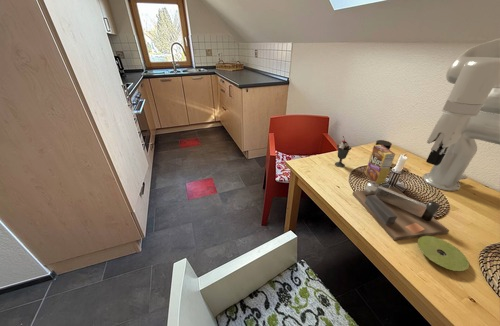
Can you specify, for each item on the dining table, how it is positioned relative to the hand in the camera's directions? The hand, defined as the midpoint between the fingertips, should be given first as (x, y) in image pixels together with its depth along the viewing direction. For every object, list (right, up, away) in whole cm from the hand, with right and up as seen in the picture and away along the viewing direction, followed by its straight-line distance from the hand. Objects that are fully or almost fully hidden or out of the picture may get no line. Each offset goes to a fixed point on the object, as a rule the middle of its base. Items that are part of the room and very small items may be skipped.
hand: (432, 163), depth 67 cm
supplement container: (+7, +1, +40) cm, 41 cm away
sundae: (-15, -1, +37) cm, 39 cm away
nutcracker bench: (-8, -18, +7) cm, 21 cm away
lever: (-7, -15, +7) cm, 18 cm away
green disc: (-6, -27, -8) cm, 29 cm away
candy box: (-4, -7, +26) cm, 27 cm away
